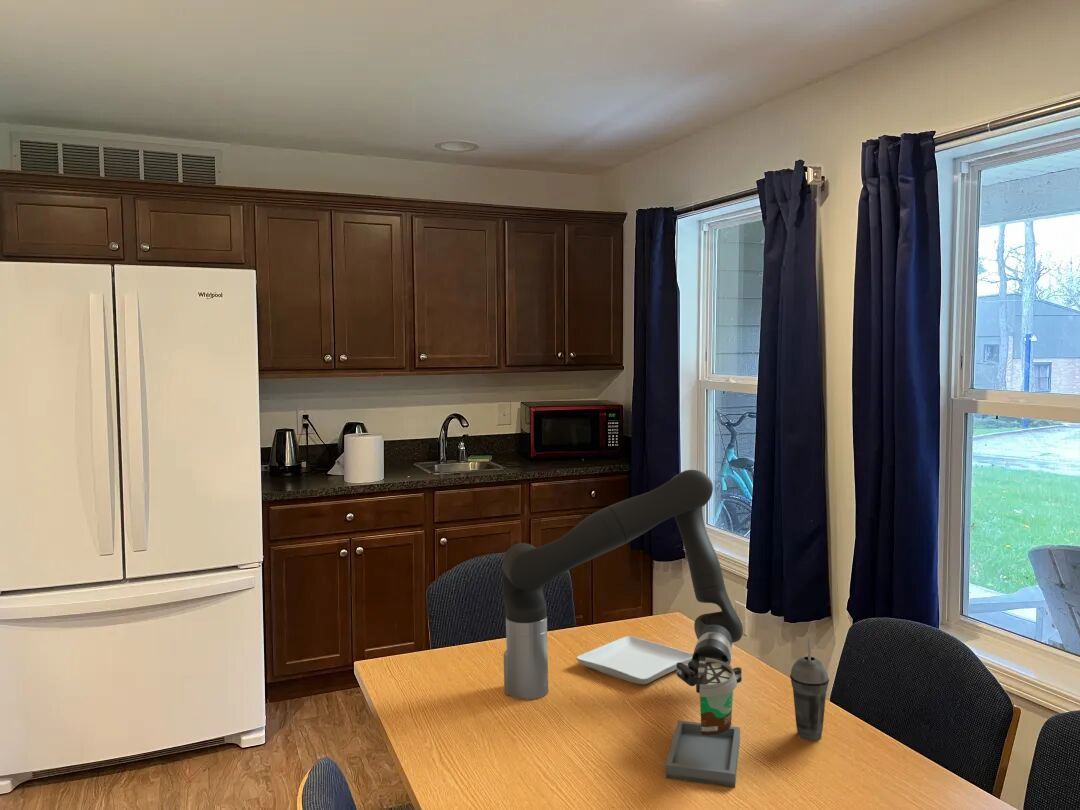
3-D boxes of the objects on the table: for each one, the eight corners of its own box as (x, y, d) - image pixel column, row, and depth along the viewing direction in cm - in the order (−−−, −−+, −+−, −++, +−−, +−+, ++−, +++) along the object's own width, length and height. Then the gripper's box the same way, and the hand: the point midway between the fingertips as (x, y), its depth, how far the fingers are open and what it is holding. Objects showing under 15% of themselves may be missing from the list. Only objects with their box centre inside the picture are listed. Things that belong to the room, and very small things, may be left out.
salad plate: (628, 646, 207) (627, 633, 207) (697, 667, 192) (697, 653, 192) (573, 670, 192) (573, 656, 192) (644, 694, 177) (644, 679, 177)
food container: (735, 743, 140) (734, 689, 139) (700, 739, 142) (699, 685, 141) (739, 709, 152) (738, 659, 151) (706, 705, 154) (705, 656, 152)
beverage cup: (828, 729, 158) (829, 631, 157) (829, 746, 151) (829, 643, 150) (790, 724, 160) (790, 627, 159) (789, 741, 154) (789, 640, 152)
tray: (665, 778, 141) (665, 764, 141) (678, 732, 158) (677, 720, 158) (734, 787, 138) (734, 773, 138) (740, 739, 155) (740, 727, 155)
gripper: (679, 635, 165) (667, 668, 149) (745, 640, 161) (741, 674, 145) (679, 670, 166) (668, 707, 149) (746, 676, 162) (742, 714, 145)
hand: (704, 691), depth 147 cm, fingers closed on food container, 1 cm apart
